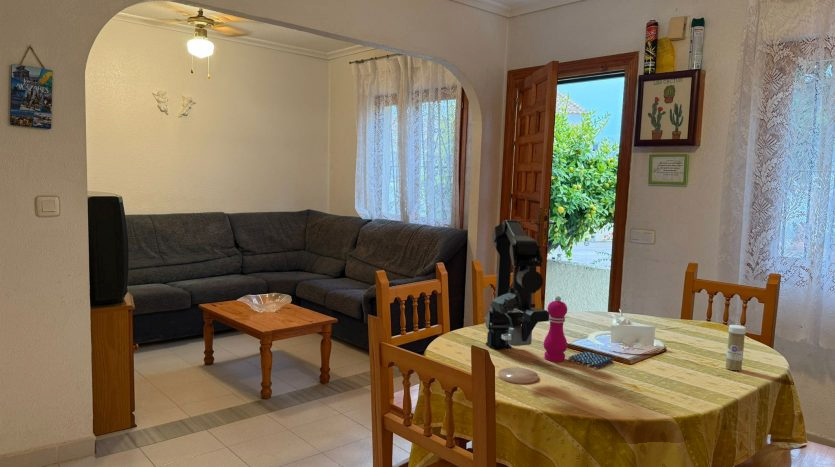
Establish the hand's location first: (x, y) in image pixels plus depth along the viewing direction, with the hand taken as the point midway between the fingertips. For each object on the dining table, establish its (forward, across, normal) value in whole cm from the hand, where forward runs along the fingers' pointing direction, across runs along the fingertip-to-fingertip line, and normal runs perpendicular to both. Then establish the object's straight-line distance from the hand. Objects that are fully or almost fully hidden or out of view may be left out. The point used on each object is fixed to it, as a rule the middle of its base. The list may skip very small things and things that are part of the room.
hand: (520, 339), depth 167 cm
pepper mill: (+11, -10, +20) cm, 25 cm away
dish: (+12, -16, +54) cm, 57 cm away
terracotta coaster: (+11, 0, 0) cm, 11 cm away
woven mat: (+12, -4, +29) cm, 32 cm away
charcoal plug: (+1, 0, 0) cm, 1 cm away
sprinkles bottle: (+11, +16, +67) cm, 70 cm away
